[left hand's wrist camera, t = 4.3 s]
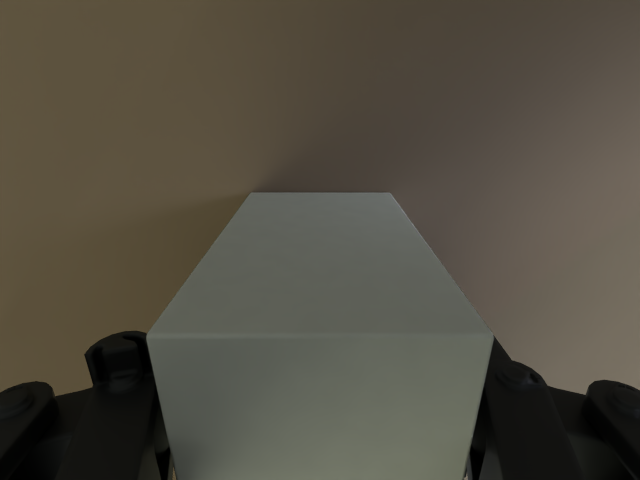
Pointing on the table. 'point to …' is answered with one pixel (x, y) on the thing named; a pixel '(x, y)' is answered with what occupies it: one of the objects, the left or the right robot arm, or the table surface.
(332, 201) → the bar
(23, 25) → the table surface
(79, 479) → the left robot arm
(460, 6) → the table surface
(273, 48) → the table surface
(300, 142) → the table surface
